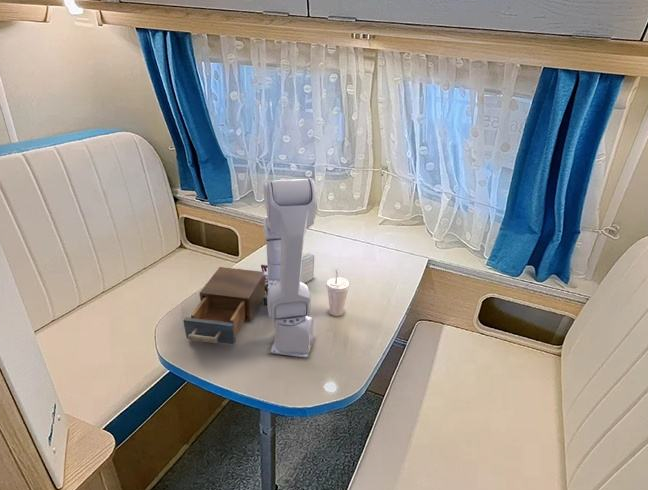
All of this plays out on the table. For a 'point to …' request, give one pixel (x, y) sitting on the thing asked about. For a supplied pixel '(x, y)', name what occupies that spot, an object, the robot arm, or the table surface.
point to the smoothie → (337, 294)
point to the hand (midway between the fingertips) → (279, 302)
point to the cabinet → (237, 287)
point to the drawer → (216, 320)
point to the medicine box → (307, 267)
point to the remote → (265, 299)
